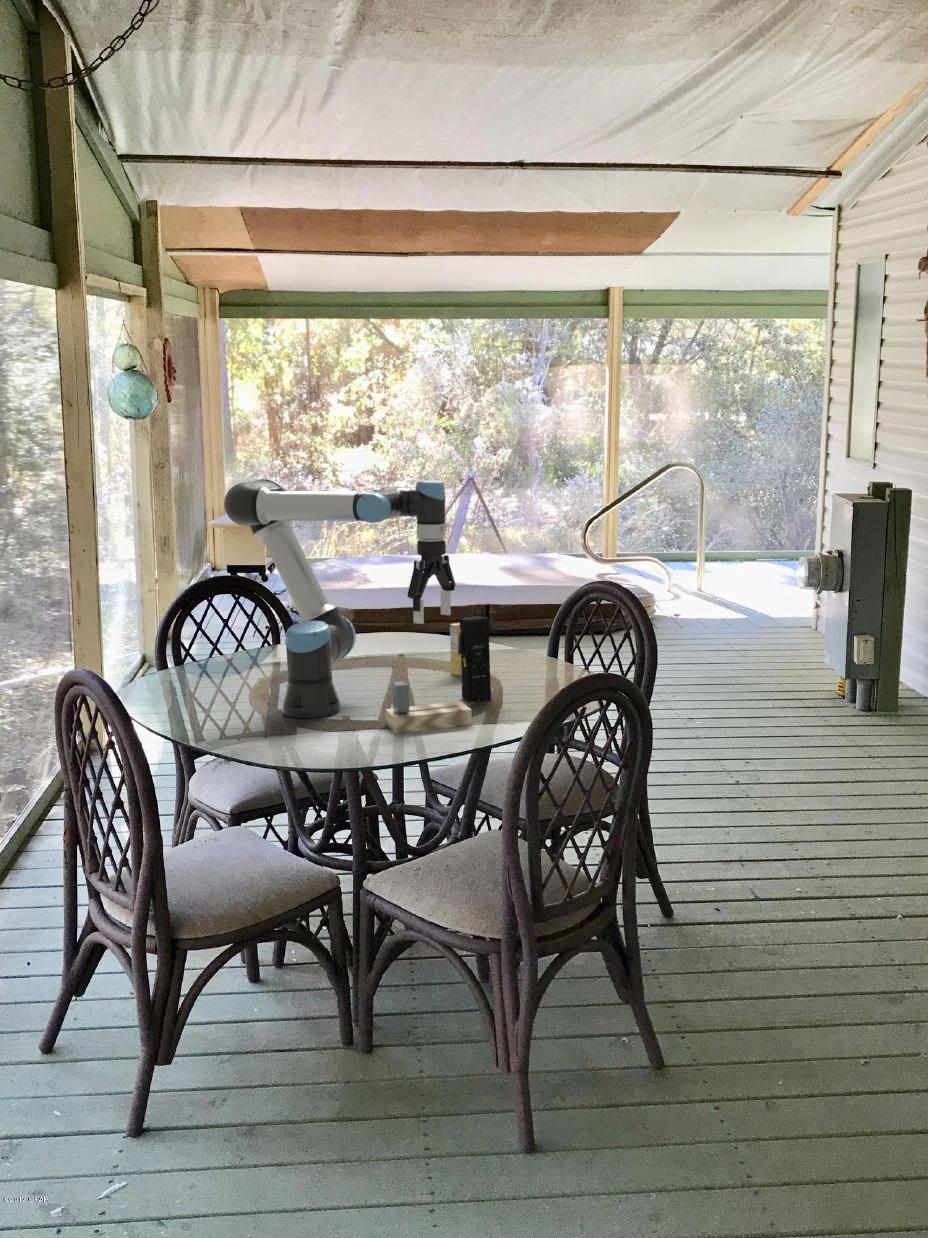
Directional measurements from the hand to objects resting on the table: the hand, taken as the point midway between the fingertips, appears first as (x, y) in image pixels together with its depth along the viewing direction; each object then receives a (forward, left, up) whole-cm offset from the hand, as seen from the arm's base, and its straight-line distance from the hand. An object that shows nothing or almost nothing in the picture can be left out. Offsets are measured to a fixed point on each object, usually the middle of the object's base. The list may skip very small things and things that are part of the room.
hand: (432, 619), depth 307 cm
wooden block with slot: (-7, -18, -24) cm, 31 cm away
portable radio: (+12, +1, -24) cm, 26 cm away
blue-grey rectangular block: (-14, -18, -19) cm, 30 cm away
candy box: (+20, +32, -24) cm, 44 cm away
